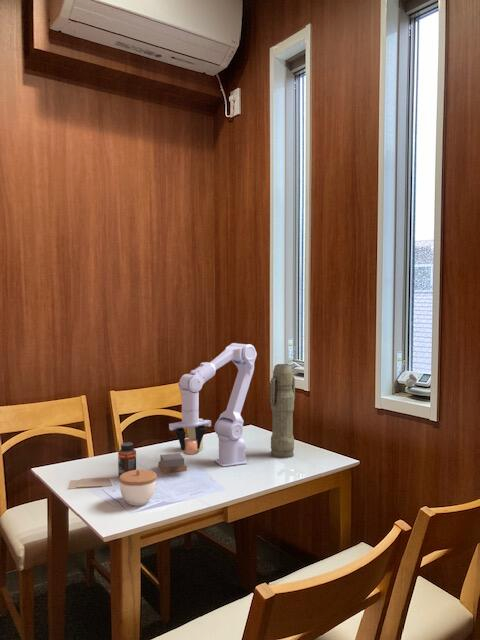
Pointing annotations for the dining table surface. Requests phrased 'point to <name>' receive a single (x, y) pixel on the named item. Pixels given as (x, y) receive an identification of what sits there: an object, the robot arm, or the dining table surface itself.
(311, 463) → the dining table surface
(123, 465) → the supplement bottle
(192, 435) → the skincare box
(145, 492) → the lidded jar
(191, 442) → the terracotta cylinder
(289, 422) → the thermos
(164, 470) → the walnut slab
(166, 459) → the grey flat block
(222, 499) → the dining table surface
